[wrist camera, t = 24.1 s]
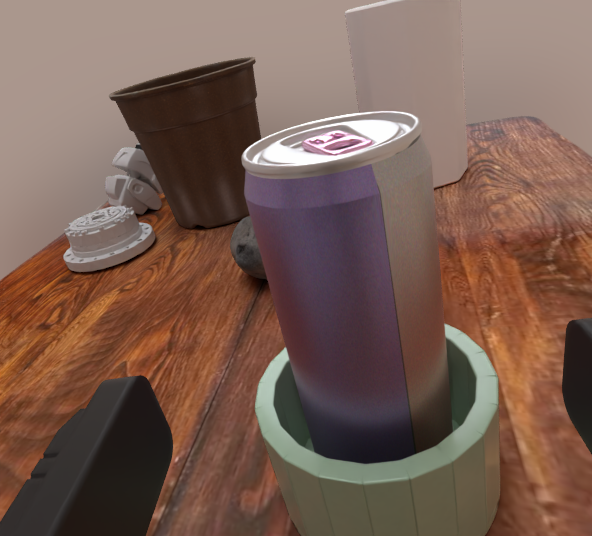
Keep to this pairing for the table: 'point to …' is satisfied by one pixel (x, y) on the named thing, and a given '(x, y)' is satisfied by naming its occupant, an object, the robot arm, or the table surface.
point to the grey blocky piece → (133, 182)
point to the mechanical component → (106, 239)
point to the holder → (393, 474)
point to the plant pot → (197, 137)
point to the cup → (414, 72)
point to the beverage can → (356, 280)
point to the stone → (247, 249)
